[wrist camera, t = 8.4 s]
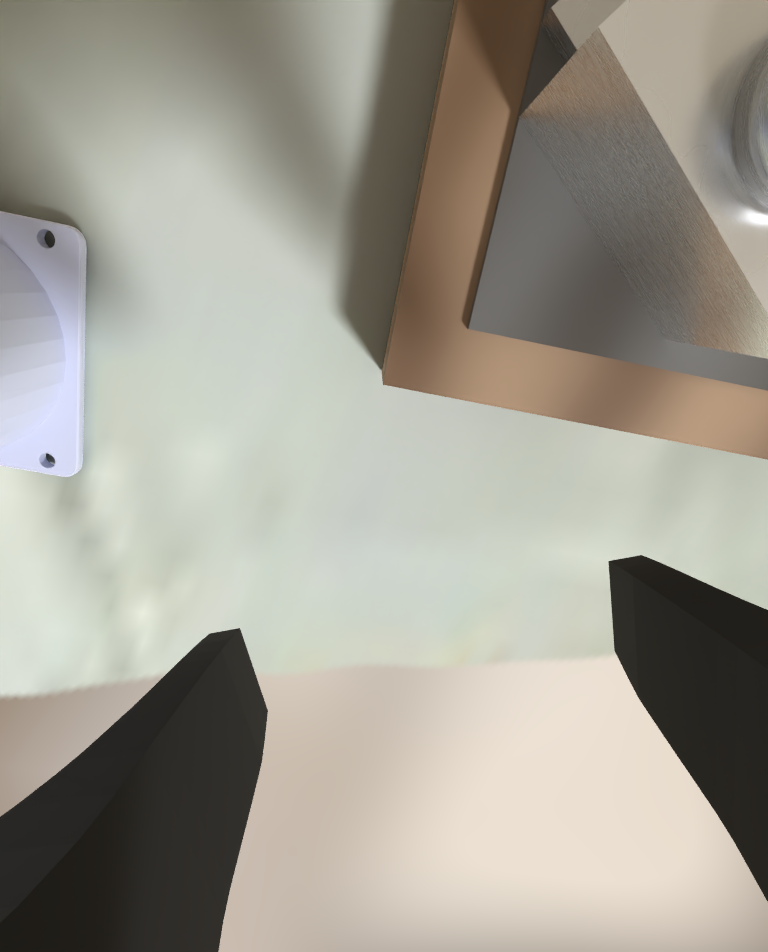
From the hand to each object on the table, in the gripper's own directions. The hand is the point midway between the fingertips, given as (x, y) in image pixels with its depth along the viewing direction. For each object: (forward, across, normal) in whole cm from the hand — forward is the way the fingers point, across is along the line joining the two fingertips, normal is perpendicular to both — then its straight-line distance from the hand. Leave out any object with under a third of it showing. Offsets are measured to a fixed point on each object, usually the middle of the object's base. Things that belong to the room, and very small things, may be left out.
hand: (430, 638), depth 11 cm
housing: (+7, -8, -8) cm, 13 cm away
